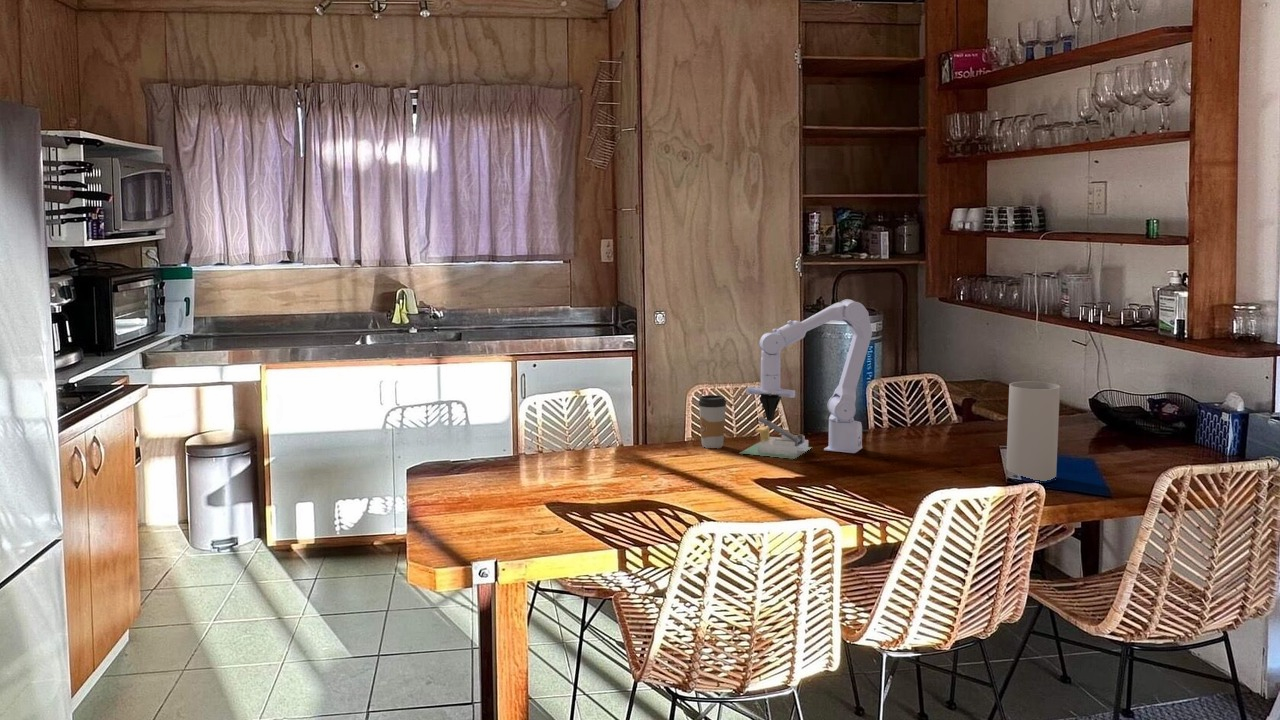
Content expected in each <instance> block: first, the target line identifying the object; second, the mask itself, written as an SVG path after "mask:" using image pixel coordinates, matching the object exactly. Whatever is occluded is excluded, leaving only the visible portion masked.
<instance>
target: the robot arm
mask: <svg viewBox="0 0 1280 720" xmlns="http://www.w3.org/2000/svg"><path fill="white" fill-rule="evenodd" d="M831 321H834V322H844V323H846V324H847V326H848V327H849V329H850V331H851V332H852V333H853V336H852V338H851V342H850V345H849V349H848V352H847V356H846V359H845V363H844V366H843V370H842V372H841V376H840V380H839V382H838V385H837V387H836V388H835V389H834V392H833V394H832V395H831V397H830V398H829V400H828V401H827V404H826V406H827V410H828V412H829V413H830V415H829V417H828V446H826V447H824V448H823V451H828V452H837V453H840V452H841V453H847V454H856V453H858V452H859V451H860V450H862V449H863V425H862V422H861V421H858V420H854V417H855V415H856V412H857V409H856V401H857V393H856V391H857V386H858V384H859V380H860V376H861V373H862V370H863V366H864V363H865V361H866V356H867V353H868V349H869V347H870V343H871V339H872V336H873V329H872V324H871V320H870V315H869V311H868V310H867V308H866V307H865V305H864V304H863V303H861V302H859V301H855V300H853V299H849V298H846V299H843V300H841V301H839V302H835V303H833V304H831V305H829V306H827V307H825V308H824V309H822V310H820V311H818V312H817V313H815V314H813V315H811V316H810V317H807V318H806V319H804V320H802V321H799V320H791V319H789V320H788V321H786V324H785V325H782V326H780V327H778V328H773V329H772V332H765V333H764V334H763V335H762V336H761V337H760V339H759V341H758V346H759V348H760V349H761V352H760V356H761V357H760V387H759V386H758V387H756V386H755V387H752V386H751V387H750V386H747V387H746V388H745V395H747V396H749V395H754V396H755V395H757V396H760V397H759V401H760V404H761V405H762V407H763V410H764V413H765V417H766V418H765V419H767V421H770V422H772V421H774V419H775V415H776V410H777V408H778V406H779V403H780V401H781V399H782V397H783V398H790V399H793V398H794V399H795V398H796V390H794V389H785V388H781V372H782V371H781V361H782V359H781V351H782V350H783V349H784V348H787V347H788V346H790V345H792V344H794V343H796V342H798V341H800V340H802V339H804V338H805V337H806V334H807V332H809V331H811V330H813V329H815V328H818V327H820V326H822V325H824V324H826V323H829V322H831Z"/></svg>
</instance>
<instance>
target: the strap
mask: <svg viewBox="0 0 1280 720" xmlns="http://www.w3.org/2000/svg"><path fill="white" fill-rule="evenodd" d="M757 421H759V422H760V423H762V424H763V425H764V426H766V427H769V429H772V430H773V431H776V432H777V433H779V434H780V435H784V436H786V437H788V438H789V439H791V440H793V437H796V438H798V437H797V436H795V434H793V433H791V432H790V431H788V430H786V429H784V428H783V427H781V426H779V425H777V424H776V423H774V422H772V421H767V418H765V417H763V416H759V418H758V419H757ZM801 440H802V439H801V438H800V437H799V438H798V442H800V441H801Z"/></svg>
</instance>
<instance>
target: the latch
mask: <svg viewBox="0 0 1280 720" xmlns="http://www.w3.org/2000/svg"><path fill="white" fill-rule="evenodd" d="M754 432H755V433H760V434H759V435H760V441H759V442H761V441H763V440H764V439H766V438H768V437H770V427H769V426H767V425H764V426H763V425H762V426H761V425H760V426H759V427H757V428H755V431H754Z"/></svg>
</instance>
